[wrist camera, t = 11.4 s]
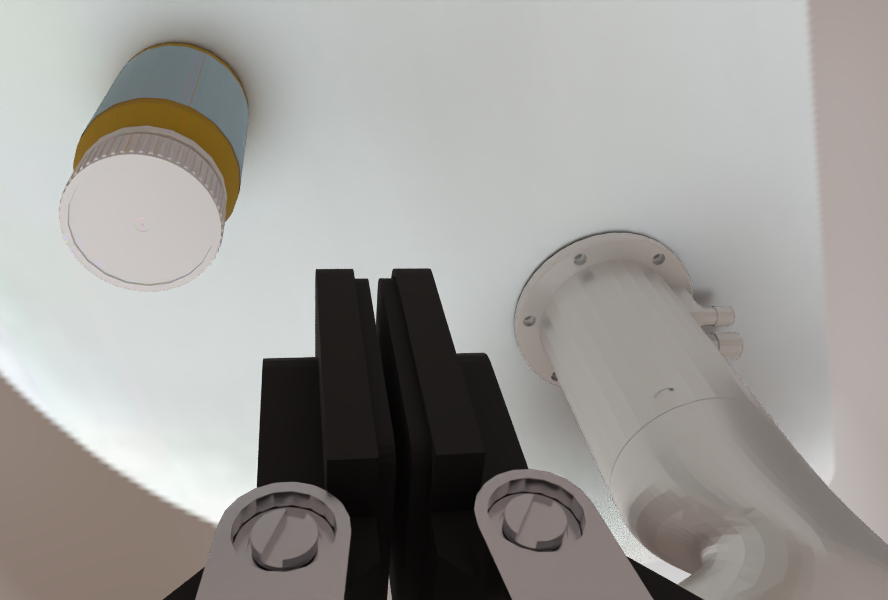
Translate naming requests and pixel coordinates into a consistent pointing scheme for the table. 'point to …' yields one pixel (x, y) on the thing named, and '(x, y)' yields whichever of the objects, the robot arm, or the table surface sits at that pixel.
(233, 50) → the table surface
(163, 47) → the bottle
